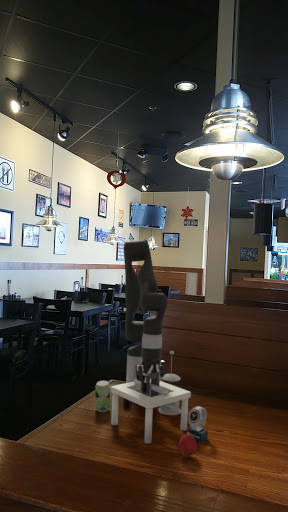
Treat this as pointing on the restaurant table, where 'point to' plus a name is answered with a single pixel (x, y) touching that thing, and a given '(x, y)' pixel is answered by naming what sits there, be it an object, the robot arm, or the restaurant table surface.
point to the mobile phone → (126, 403)
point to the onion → (187, 445)
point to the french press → (174, 406)
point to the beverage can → (102, 396)
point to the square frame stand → (150, 401)
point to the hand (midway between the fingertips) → (150, 390)
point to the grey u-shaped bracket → (154, 381)
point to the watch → (198, 418)
